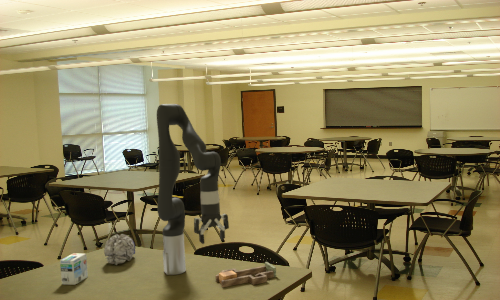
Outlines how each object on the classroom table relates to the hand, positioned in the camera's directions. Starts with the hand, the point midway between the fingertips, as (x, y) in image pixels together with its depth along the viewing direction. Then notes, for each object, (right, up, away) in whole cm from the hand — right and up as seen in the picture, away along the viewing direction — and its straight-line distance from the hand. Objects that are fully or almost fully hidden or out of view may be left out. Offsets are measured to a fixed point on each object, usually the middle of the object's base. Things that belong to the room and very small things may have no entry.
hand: (212, 241), depth 188 cm
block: (+6, -18, +6) cm, 20 cm away
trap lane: (+13, -17, +9) cm, 24 cm away
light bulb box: (-62, -21, +17) cm, 67 cm away
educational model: (-48, -18, +41) cm, 66 cm away
